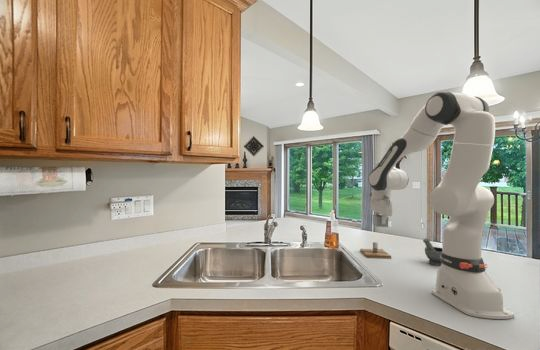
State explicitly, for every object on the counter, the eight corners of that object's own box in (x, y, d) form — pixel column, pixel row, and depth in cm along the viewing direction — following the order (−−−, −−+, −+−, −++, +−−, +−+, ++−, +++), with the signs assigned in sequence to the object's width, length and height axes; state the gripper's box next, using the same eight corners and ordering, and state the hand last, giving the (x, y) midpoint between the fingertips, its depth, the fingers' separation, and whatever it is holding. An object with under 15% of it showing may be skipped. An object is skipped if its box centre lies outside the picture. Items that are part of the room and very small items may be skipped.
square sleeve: (388, 227, 129) (388, 216, 129) (376, 226, 130) (376, 216, 130) (383, 224, 135) (384, 215, 135) (372, 224, 135) (373, 214, 135)
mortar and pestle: (440, 260, 130) (441, 236, 130) (453, 267, 120) (454, 241, 120) (417, 260, 130) (418, 236, 130) (428, 266, 121) (429, 240, 121)
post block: (391, 258, 132) (391, 246, 132) (367, 257, 133) (367, 245, 133) (382, 251, 144) (382, 240, 144) (360, 250, 145) (360, 239, 145)
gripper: (396, 197, 122) (395, 226, 122) (380, 193, 142) (379, 218, 142) (382, 196, 122) (381, 226, 122) (368, 192, 142) (367, 218, 143)
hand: (380, 222), depth 132 cm, fingers closed on square sleeve, 6 cm apart
